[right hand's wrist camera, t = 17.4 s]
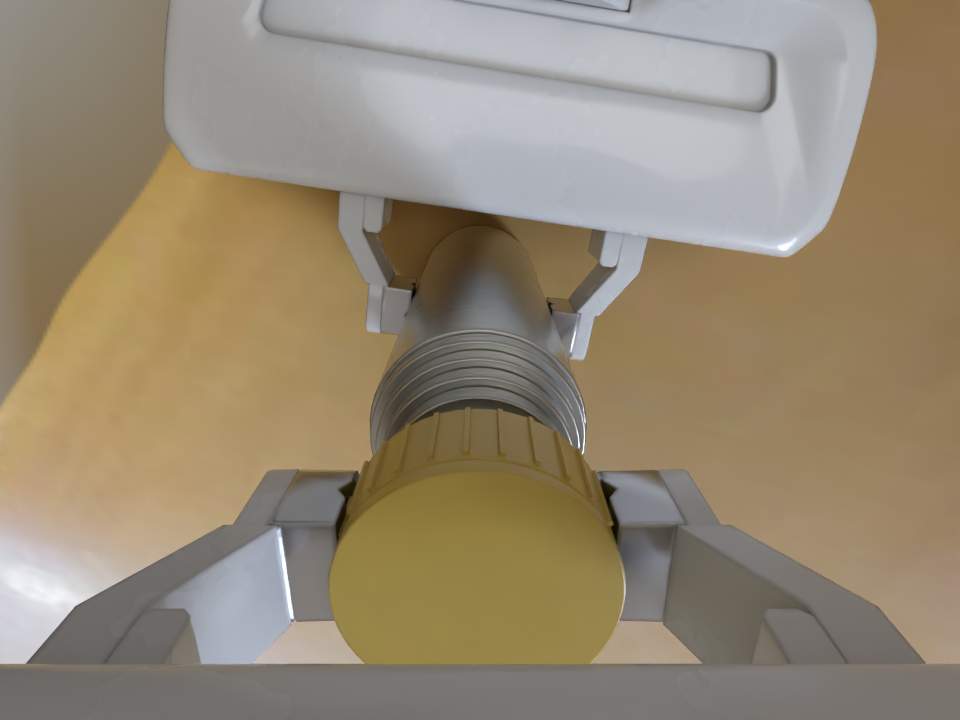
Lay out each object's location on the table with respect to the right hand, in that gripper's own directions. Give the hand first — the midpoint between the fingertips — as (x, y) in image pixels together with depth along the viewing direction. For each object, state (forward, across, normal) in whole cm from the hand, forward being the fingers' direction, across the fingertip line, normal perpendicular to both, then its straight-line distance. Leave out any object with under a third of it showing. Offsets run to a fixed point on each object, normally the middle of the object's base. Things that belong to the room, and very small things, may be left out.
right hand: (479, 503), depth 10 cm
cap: (-2, 0, 0) cm, 2 cm away
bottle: (+16, 0, 0) cm, 17 cm away
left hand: (+11, 0, -1) cm, 11 cm away
